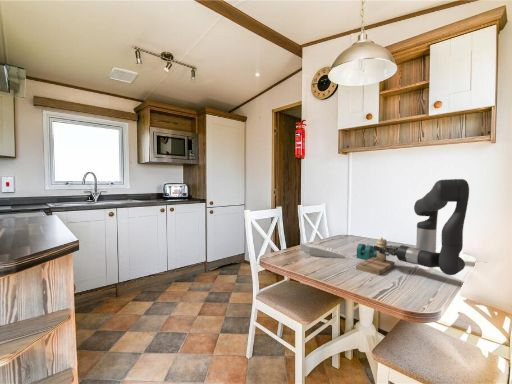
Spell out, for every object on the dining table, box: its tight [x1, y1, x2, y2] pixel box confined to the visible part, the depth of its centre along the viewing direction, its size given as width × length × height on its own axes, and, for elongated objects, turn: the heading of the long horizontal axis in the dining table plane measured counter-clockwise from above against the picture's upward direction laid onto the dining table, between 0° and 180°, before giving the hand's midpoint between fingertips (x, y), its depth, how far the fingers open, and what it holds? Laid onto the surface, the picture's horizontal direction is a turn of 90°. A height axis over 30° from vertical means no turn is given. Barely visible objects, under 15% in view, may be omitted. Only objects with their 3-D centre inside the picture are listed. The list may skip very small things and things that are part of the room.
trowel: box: [299, 241, 345, 259], centre depth 152 cm, size 28×16×5 cm, turn 55°
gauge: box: [376, 237, 388, 262], centre depth 132 cm, size 5×5×12 cm
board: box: [355, 257, 395, 276], centre depth 128 cm, size 20×11×2 cm, turn 133°
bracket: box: [356, 243, 377, 261], centre depth 147 cm, size 18×7×8 cm, turn 131°
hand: (376, 247), depth 135 cm, fingers closed on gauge, 4 cm apart
